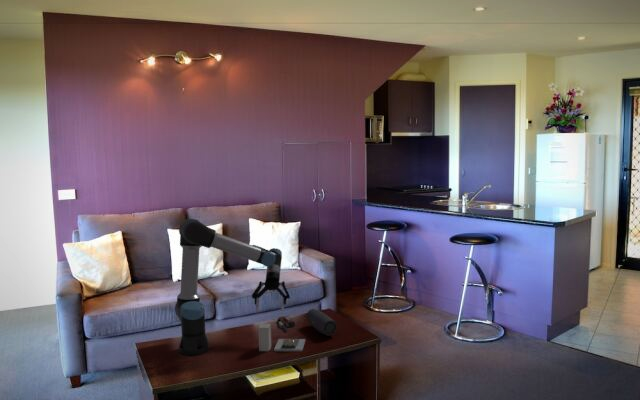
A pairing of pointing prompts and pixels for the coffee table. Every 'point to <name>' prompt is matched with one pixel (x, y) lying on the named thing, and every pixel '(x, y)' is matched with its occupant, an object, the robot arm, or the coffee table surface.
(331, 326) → the bluetooth speaker
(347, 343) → the coffee table surface
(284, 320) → the walkie-talkie
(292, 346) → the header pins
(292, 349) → the board
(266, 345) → the plug block
